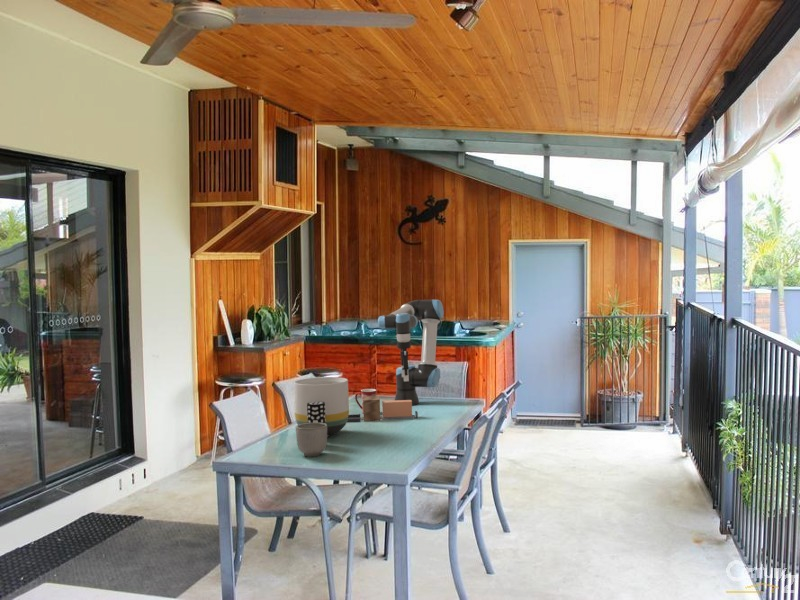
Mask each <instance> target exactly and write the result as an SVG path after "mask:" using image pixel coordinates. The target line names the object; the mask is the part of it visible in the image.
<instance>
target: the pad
mask: <svg viewBox="0 0 800 600" xmlns="http://www.w3.org/2000/svg"><path fill="white" fill-rule="evenodd" d="M400 420H402V421H403V420H414V418H395V419H381V421H400Z"/></svg>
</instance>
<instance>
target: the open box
mask: <svg viewBox="0 0 800 600" xmlns="http://www.w3.org/2000/svg"><path fill="white" fill-rule="evenodd" d="M380 401H381V400H380V395H376V396H370V397H363V411H362V414H363V413H364V414H363V417H364V420H363V422H365V423H366V422H381V419H380V416H381V402H380Z"/></svg>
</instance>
